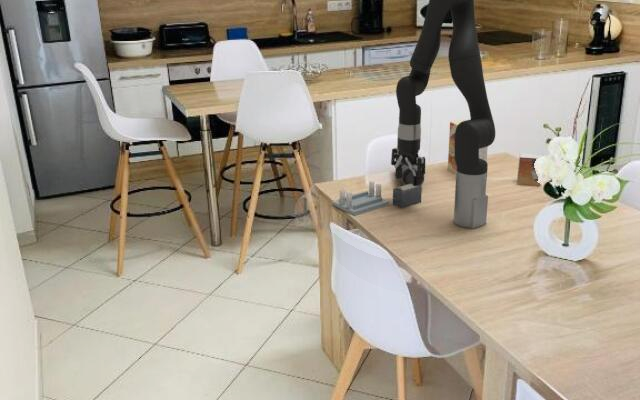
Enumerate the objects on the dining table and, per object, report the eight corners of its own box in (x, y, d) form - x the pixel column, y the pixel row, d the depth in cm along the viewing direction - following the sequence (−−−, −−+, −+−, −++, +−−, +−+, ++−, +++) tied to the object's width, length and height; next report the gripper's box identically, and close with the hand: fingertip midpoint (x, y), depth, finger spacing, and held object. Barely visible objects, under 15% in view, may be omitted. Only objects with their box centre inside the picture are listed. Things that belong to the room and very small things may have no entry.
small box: (516, 184, 234) (519, 157, 230) (517, 179, 239) (519, 152, 235) (540, 186, 231) (542, 158, 228) (539, 181, 236) (542, 154, 233)
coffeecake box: (446, 170, 251) (449, 121, 244) (461, 167, 253) (464, 119, 246) (470, 181, 238) (473, 130, 231) (486, 178, 241) (489, 127, 234)
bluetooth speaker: (425, 191, 229) (426, 165, 226) (399, 192, 230) (400, 165, 226) (418, 171, 250) (418, 146, 247) (394, 171, 251) (394, 147, 247)
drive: (421, 202, 220) (421, 185, 218) (401, 209, 215) (402, 191, 213) (412, 199, 223) (412, 182, 221) (392, 205, 219) (392, 188, 216)
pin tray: (388, 204, 219) (389, 187, 216) (354, 215, 211) (354, 197, 208) (366, 195, 228) (366, 178, 225) (332, 205, 220) (332, 187, 217)
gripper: (432, 138, 207) (430, 185, 214) (403, 129, 218) (401, 174, 224) (415, 143, 203) (413, 190, 210) (386, 132, 214) (384, 178, 221)
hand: (407, 182), depth 217 cm, fingers open, 8 cm apart
